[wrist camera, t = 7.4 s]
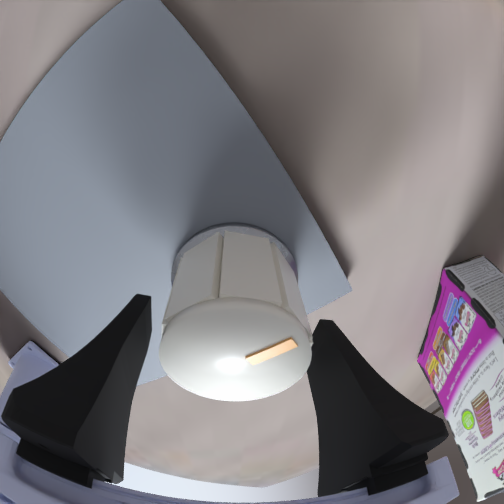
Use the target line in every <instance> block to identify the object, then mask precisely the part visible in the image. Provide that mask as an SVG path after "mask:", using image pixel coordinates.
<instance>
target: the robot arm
mask: <svg viewBox="0 0 504 504" xmlns="http://www.w3.org/2000/svg"><path fill="white" fill-rule="evenodd" d="M151 333H152V308H151V296H148V295H143V294H136V295H135V296H134V297H133V298H132V299H131V300H130V301H129V303H128V304H127V305H126V306H125V307H124V308H123V309H122V310H121V312H120V313H119V314H118V315H117V316H116V317H115V318H114V319H113V320H112V321H111V322H110V323H109V324H108V325H107V326H106V327H105V328H104V329H103V330H102V331H101V332H100V333H99V334H98V335H97V336H96V337H95V338H94V339H92V340H91V341H90V342H89V343H88V344H87V345H85V346H84V347H83V348H82V349H81V350H79V351H78V352H77V353H75V354H74V355H73V356H71V357H70V358H69V359H67V360H66V361H64V362H63V363H61V364H60V365H59V364H58V363H57V362H56V361H54V360H53V359H52V358H51V357H50V356H48V355H47V354H46V353H45V352H44V351H43V350H41V349H40V348H39V347H38V346H37V345H36V344H35V343H34V342H32V341H29V342H28V343H27V344H26V345H25V346H23V347H22V348H21V349H20V350H19V351H18V352H17V353H16V354H15V355H14V356H13V357H12V358H11V359H10V360H9V362H8V363H9V365H10V366H11V367H12V368H13V371H12V373H11V375H10V377H9V379H8V381H7V383H6V386H5V388H4V390H3V392H2V394H1V396H0V504H446V503H448V502H449V501H451V500H452V499H454V498H456V497H457V496H459V491H458V488H457V485H456V482H455V478H454V475H453V472H452V469H451V466H450V463H449V460H448V458H447V457H446V456H445V457H443V458H441V459H439V460H437V461H434V462H432V463H430V464H428V465H426V464H425V461H426V460H427V459H428V456H427V452H429V451H430V450H431V449H433V448H434V447H436V446H437V445H439V444H440V443H442V442H443V441H444V440H445V439H446V438H447V437H448V435H449V434H448V431H447V429H446V426H445V423H444V421H443V420H442V419H441V418H439V417H437V416H435V415H433V414H431V413H429V412H427V411H426V410H424V409H422V408H421V407H419V406H417V405H416V404H414V403H413V402H411V401H410V400H409V399H407V398H406V397H404V396H403V395H402V394H401V393H399V392H398V391H397V390H396V389H394V388H393V387H392V386H391V385H390V384H389V383H388V382H386V381H385V380H384V379H383V378H382V377H381V376H380V375H379V374H378V373H377V372H376V371H375V370H374V369H373V368H372V367H371V366H370V364H369V363H368V362H367V361H366V360H365V359H364V358H363V357H362V355H361V354H360V353H359V352H358V351H357V350H356V348H355V347H354V346H353V345H352V343H351V342H350V341H349V340H348V339H347V337H346V336H345V335H344V334H343V332H342V331H341V330H340V329H339V327H338V326H337V325H336V324H335V323H334V322H333V320H323V319H320V320H319V322H318V324H317V326H316V328H315V330H314V332H313V334H312V336H313V339H312V341H313V344H312V346H311V351H312V357H311V362H310V365H309V367H308V369H307V374H308V379H309V383H310V388H311V392H312V397H313V401H314V405H315V410H316V416H317V424H318V435H319V483H318V497H316V498H309V499H302V500H292V501H280V502H262V503H227V502H226V503H225V502H208V501H197V500H187V499H178V498H172V497H166V496H160V495H155V494H149V493H145V492H140V491H135V490H131V489H127V488H123V487H120V486H116V485H112V484H109V483H115V484H117V483H120V482H121V481H123V475H124V457H125V446H126V437H127V430H128V422H129V416H130V410H131V404H132V400H133V396H134V392H135V389H136V386H137V382H138V379H139V376H140V373H141V370H142V367H143V364H144V361H145V358H146V355H147V352H148V347H149V343H150V338H151ZM106 482H109V483H106Z"/></svg>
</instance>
